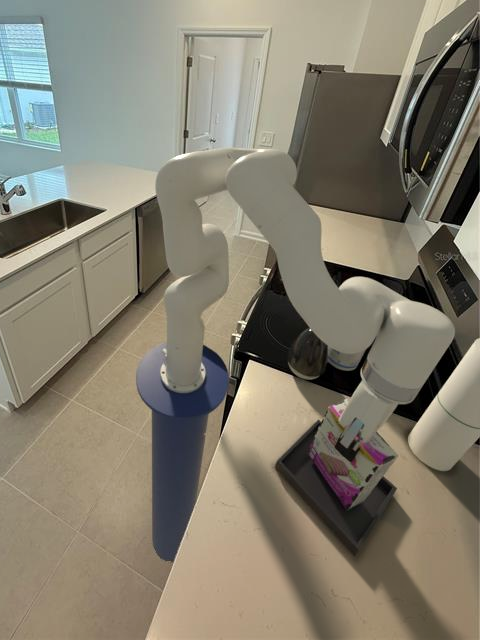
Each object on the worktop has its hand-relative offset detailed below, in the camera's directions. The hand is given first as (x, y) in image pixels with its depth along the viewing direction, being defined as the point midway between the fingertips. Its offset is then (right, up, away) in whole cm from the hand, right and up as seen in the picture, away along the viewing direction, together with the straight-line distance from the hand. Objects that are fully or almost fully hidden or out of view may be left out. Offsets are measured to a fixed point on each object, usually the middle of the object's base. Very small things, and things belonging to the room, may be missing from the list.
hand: (352, 442), depth 56 cm
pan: (-1, -12, +7) cm, 14 cm away
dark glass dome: (+2, +1, +31) cm, 31 cm away
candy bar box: (-1, -11, +6) cm, 12 cm away
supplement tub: (+15, +3, +35) cm, 38 cm away
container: (+24, -10, +13) cm, 29 cm away
